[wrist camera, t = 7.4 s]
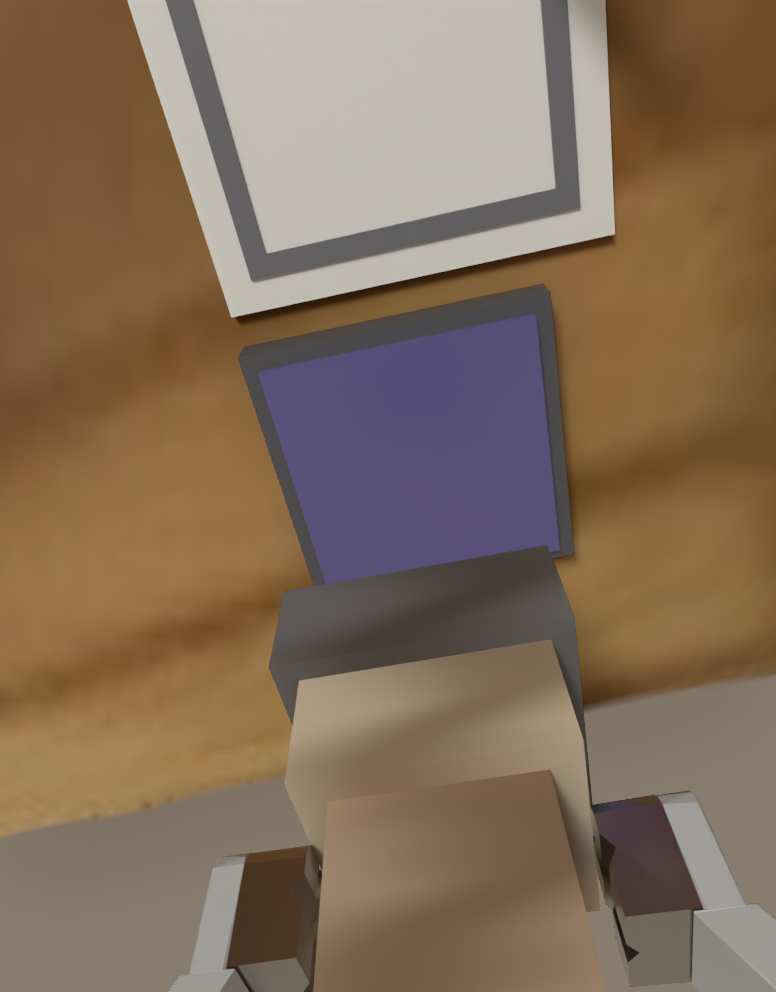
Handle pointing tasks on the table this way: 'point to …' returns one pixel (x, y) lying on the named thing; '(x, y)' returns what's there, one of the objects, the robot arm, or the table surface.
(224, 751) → the table surface
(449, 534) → the ink pad
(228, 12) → the print sheet
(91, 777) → the table surface
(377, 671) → the stamp
